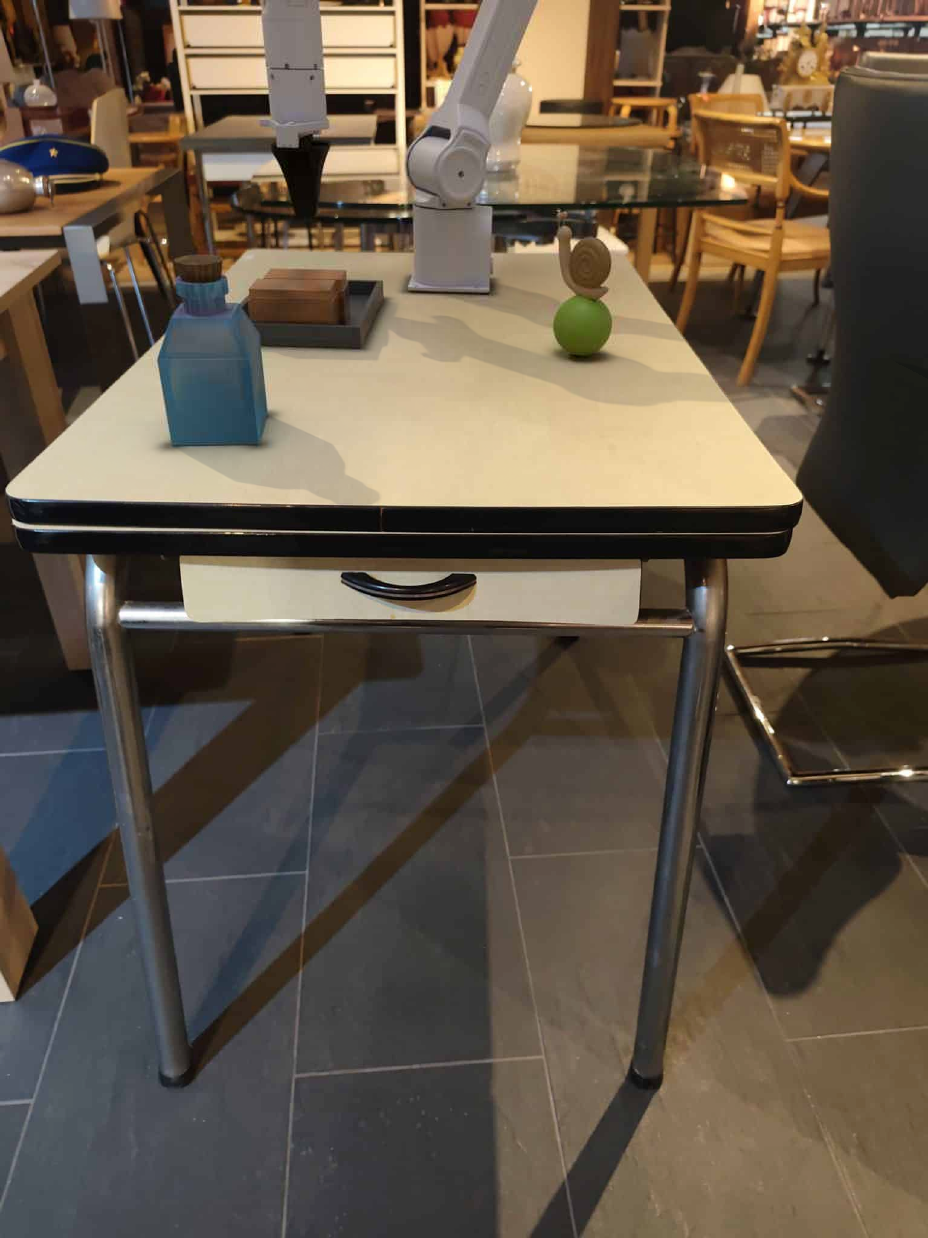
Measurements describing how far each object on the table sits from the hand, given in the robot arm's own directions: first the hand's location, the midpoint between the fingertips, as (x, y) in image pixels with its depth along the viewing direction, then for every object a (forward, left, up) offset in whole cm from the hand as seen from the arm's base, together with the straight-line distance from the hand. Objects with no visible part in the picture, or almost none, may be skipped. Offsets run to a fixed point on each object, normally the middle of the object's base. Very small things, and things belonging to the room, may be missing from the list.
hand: (306, 216), depth 96 cm
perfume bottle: (-1, +41, -9) cm, 42 cm away
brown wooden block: (-2, +17, -8) cm, 18 cm away
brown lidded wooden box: (-2, +12, -8) cm, 15 cm away
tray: (-2, +10, -8) cm, 13 cm away
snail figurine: (-29, +19, -9) cm, 35 cm away
